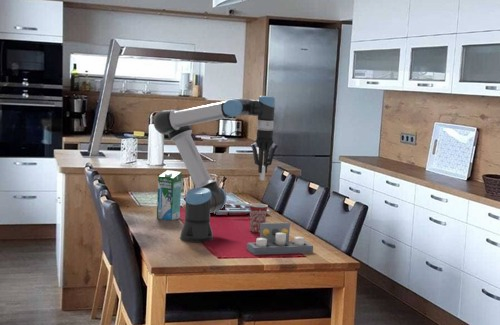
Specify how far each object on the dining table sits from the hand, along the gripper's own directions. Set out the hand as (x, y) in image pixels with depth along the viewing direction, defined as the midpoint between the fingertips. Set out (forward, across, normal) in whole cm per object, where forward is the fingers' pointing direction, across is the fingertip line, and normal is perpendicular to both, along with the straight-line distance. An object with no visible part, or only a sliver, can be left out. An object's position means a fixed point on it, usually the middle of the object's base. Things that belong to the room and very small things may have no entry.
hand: (262, 179), depth 312 cm
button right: (+28, +11, -22) cm, 37 cm away
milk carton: (+30, -31, +53) cm, 68 cm away
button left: (+28, -7, -21) cm, 36 cm away
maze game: (+30, +11, +66) cm, 73 cm away
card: (+29, +2, -14) cm, 33 cm away
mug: (+30, +7, +21) cm, 37 cm away
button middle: (+26, +2, -21) cm, 33 cm away
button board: (+29, +2, -22) cm, 36 cm away
